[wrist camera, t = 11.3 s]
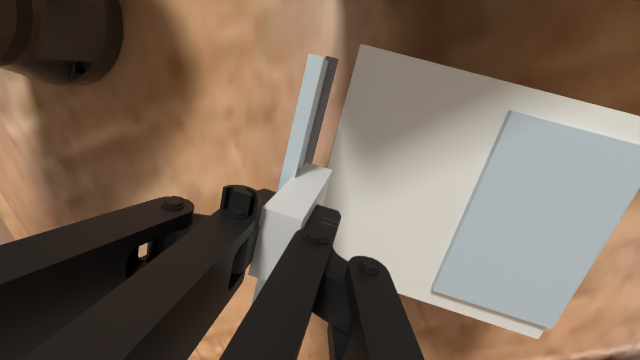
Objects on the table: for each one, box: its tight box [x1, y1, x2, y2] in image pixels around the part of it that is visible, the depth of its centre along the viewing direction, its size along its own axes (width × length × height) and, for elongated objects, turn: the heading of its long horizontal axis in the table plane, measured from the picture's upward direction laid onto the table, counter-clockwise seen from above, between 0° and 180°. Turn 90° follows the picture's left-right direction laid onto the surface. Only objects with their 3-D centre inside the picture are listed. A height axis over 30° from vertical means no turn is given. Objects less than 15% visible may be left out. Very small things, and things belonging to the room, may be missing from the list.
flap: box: [252, 53, 338, 304], centre depth 22 cm, size 15×14×1 cm
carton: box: [323, 44, 640, 339], centre depth 28 cm, size 18×16×15 cm
